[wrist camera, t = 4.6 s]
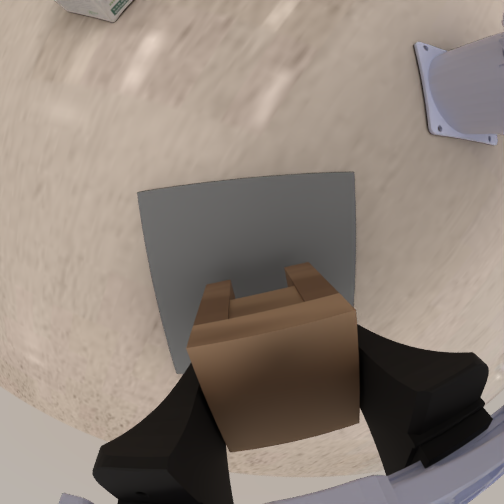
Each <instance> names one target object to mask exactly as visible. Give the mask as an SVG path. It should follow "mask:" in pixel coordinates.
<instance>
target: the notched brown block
mask: <svg viewBox="0 0 504 504" xmlns="http://www.w3.org/2000/svg"><path fill="white" fill-rule="evenodd" d="M284 269H285V275H286V280H287V285H288V287H287V288H283V289H278V290H274V291H270V292H265V293H261V294H256V295H252V296H247V297H242V298H238V299H235V295H234V291H233V287H232V283H231V279H230V280H225V281H221V282H216V283H211V284H207V285H206V287H205V290H204V293H203V296H202V299H201V302H200V305H199V309H198V312H197V315H196V318H195V321H194V324H193V328H192V331H191V334H190V337H189V340H188V344H187V347H186V349H187V352H188V355H189V358H190V360H191V363H192V365H193V368H194V371H195V373H196V376H197V378H198V381H199V383H200V386H201V388H202V391H203V393H204V396H205V398H206V400H207V403H208V405H209V408H210V410H211V412H212V414H213V417H214V419H215V421H216V423H217V426H218V428H219V430H220V432H221V434H222V437H223V439H224V441H225V443H226V445H227V447H228V449H229V451H230V452H236V451H244V450H251V449H257V448H263V447H269V446H274V445H279V444H284V443H289V442H293V441H298V440H302V439H306V438H310V437H314V436H318V435H321V434H325V433H329V432H332V431H335V430H339V429H342V428H345V427H348V426H351V425H354V424H357V423H359V413H360V385H359V351H358V333H357V318H356V310H355V309H354V308H353V307H352V306H351V304H350V303H349V302H348V301H347V300H346V299H345V298H344V297H343V296H342V295H341V294H340V293H339V292H338V291H337V290H336V289H335V288H334V287H333V286H332V285H331V284H330V283H329V282H328V281H327V280H326V279H325V278H324V277H323V276H322V275H321V274H320V273H319V272H318V271H317V270H316V269H315V268H314V267H313V266H312V265H311V264H310V263H309V262H305V263H301V264H297V265H292V266H288V267H284Z"/></svg>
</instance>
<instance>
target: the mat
mask: <svg viewBox="0 0 504 504" xmlns="http://www.w3.org/2000/svg"><path fill="white" fill-rule="evenodd" d="M137 195H138V203H139V210H140V216H141V223H142V229H143V235H144V241H145V246H146V252H147V257H148V262H149V267H150V272H151V277H152V281H153V286H154V290H155V295H156V299H157V303H158V308H159V312H160V316H161V320H162V324H163V328H164V331H165V335H166V339H167V342H168V346H169V350H170V353H171V357H172V360H173V363H174V367H175V370H176V373H177V374H184V373H185V371H186V370H187V368H188V366H189V365H190V363H191V360H190V358H189V355H188V352H187V349H186V347H187V344H188V340H189V337H190V334H191V331H192V328H193V324H194V321H195V318H196V315H197V312H198V309H199V305H200V302H201V299H202V296H203V293H204V290H205V287H206V285H207V284H211V283H216V282H221V281H225V280H230V279H231V283H232V287H233V291H234V295H235V299H238V298H242V297H247V296H252V295H256V294H261V293H265V292H270V291H274V290H278V289H283V288H287V287H288V285H287V280H286V275H285V269H284V267H288V266H292V265H297V264H301V263H305V262H309V263H310V264H311V265H312V266H313V267H314V268H315V269H316V270H317V271H318V272H319V273H320V274H321V275H322V276H323V277H324V278H325V279H326V280H327V281H328V282H329V283H330V284H331V285H332V286H333V287H334V288H335V289H336V290H337V291H338V292H339V293H340V294H341V295H342V296H343V297H344V298H345V299H346V300H347V301H348V302H349V303H350V304H351V306H352V307H354V290H355V265H356V201H355V176H354V172H329V173H308V174H291V175H276V176H263V177H252V178H241V179H231V180H222V181H213V182H205V183H197V184H189V185H182V186H175V187H168V188H161V189H155V190H148V191H142V192H137Z"/></svg>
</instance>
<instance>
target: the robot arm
mask: <svg viewBox="0 0 504 504" xmlns="http://www.w3.org/2000/svg"><path fill="white" fill-rule="evenodd" d="M502 25H503V27H504V13H503V20H502ZM414 47H415V51H416V55H417V60H418V64H419V69H420V74H421V79H422V85H423V91H424V97H425V103H426V111H427V119H428V128H429V131H430V133H431V134H433V135H440V136H447V137H453V138H459V139H465V140H470V141H475V142H480V143H485V144H490V145H497V142H498V140H497V135H504V32H502V33H499V34H496V35H492V36H489V37H486V38H483V39H480V40H477V41H475V42H472V43H469V44H466V45H463V46H461V47H458V48H455V49H453V50H450V51H446V50H443V49H440V48H437V47H434V46H431V45H428V44H425V43H422V42H416V43H415V44H414ZM424 48H425V49H424ZM438 127H439V130H438ZM357 333H358V351H359V385H360V409H361V411H362V413H363V415H364V417H365V420H366V422H367V424H368V427H369V429H370V431H371V434H372V436H373V439H374V442H375V444H376V447H377V450H378V452H379V455H380V458H381V461H382V464H383V467H384V470H385V473H386V476H385V475H371V476H367V477H364V478H360V479H356V480H354V481H350V482H348V483H345V484H342V485H338V486H335V487H332V488H328V489H325V490H322V491H318V492H314V493H310V494H306V495H302V496H297V497H293V498H288V499H283V500H278V501H273V502H269V503H265V504H467V503H468V502H470V501H471V500H473V499H474V498H475V497H476V496H478V495H479V494H480V493H482V492H483V491H484V490H485V489H487V488H488V487H489V486H490V485H492V484H493V483H494V482H495V481H496V480H498V479H499V478H500V477H501V476H502V475H503V474H504V405H503V406H502V407H501V408H500V409H498V410H497V411H496V412H495V413H493V414H492V415H491V416H490V415H489V414H488V413H487V412H486V410H485V409H484V408H483V407H484V405H485V402H484V401H483V400H482V399H481V398H480V397H481V394H482V392H483V389H484V387H485V384H486V382H487V378H488V373H489V370H488V366H487V365H486V364H485V363H484V362H483V361H482V360H481V359H480V358H479V357H478V356H477V355H475V354H474V353H473V352H469V353H449V352H437V351H430V350H424V349H419V348H415V347H411V346H407V345H404V344H401V343H397V342H394V341H392V340H389V339H387V338H384V337H382V336H380V335H377V334H375V333H373V332H371V331H369V330H367V329H365V328H363V327H361V326H360V325H358V324H357ZM93 476H94V478H95V479H96V481H97V482H98V483H99V484H100V485H101V486H102V487H103V488H105V489H106V490H107V491H108V492H110V493H111V494H112V495H113V496H115V497H116V498H118V504H234V503H233V497H232V491H231V485H230V479H229V470H228V462H227V452H226V443H225V441H224V439H223V437H222V434H221V432H220V430H219V428H218V426H217V423H216V421H215V419H214V417H213V414H212V412H211V410H210V408H209V405H208V403H207V400H206V398H205V396H204V393H203V391H202V388H201V386H200V383H199V381H198V378H197V376H196V373H195V371H194V368H193V365H192V363H190V365H189V366H188V368H187V370H186V371H185V373H184V374H183V376H182V377H181V379H180V380H179V382H178V383H177V384H176V386H175V387H174V388H173V389H172V391H171V392H170V393H169V395H168V396H167V397H166V398H165V399H164V400H163V401H162V402H161V404H160V405H159V406H158V407H157V408H156V409H155V410H154V411H152V412H151V413H150V414H149V415H148V416H147V417H146V418H144V419H143V420H142V421H141V422H140V423H138V424H137V425H136V426H134V427H133V428H132V429H130V430H129V431H127V432H126V433H124V434H123V435H121V436H119V437H117V438H116V439H114V440H112V441H110V442H108V443H106V444H105V445H102V446H101V448H100V450H99V453H98V456H97V459H96V462H95V465H94V468H93ZM59 504H94V503H92V502H91V501H89V500H87V499H85V498H82V497H78V496H74V495H70V494H66V493H62V495H61V498H60V501H59Z"/></svg>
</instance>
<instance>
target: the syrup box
mask: <svg viewBox="0 0 504 504" xmlns="http://www.w3.org/2000/svg"><path fill="white" fill-rule="evenodd" d="M54 1H56V2H57V3H58V4H59V5H60V6H62V7H63V8H64V9H65V10H66V11H68V12H72V13H77V14H81V15H86V16H90V17H94V18H99V19H103V20H106V21H110V22H115V21H116V20H117V19H118V18H119V15H120V14H121V13H122V12H123V11H124V9H125V8H126V7H127V6H128V5H129V4H130V3H131V2H132V1H133V0H54Z"/></svg>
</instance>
